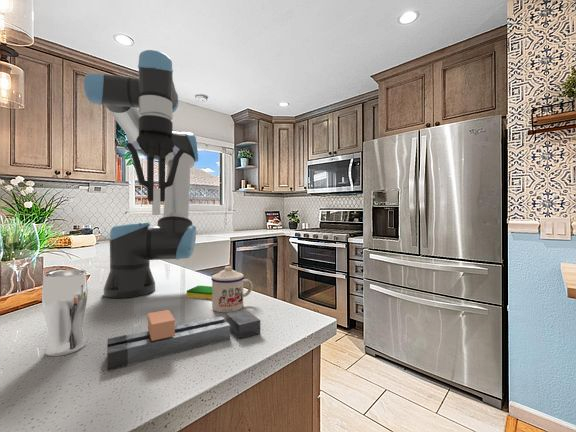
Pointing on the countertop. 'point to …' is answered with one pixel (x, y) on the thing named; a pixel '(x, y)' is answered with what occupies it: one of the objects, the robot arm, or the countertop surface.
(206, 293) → the dish sponge
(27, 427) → the countertop surface
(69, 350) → the beer glass
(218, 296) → the teacup with lid
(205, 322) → the tong arm
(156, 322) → the peach rectangular block
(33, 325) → the countertop surface
